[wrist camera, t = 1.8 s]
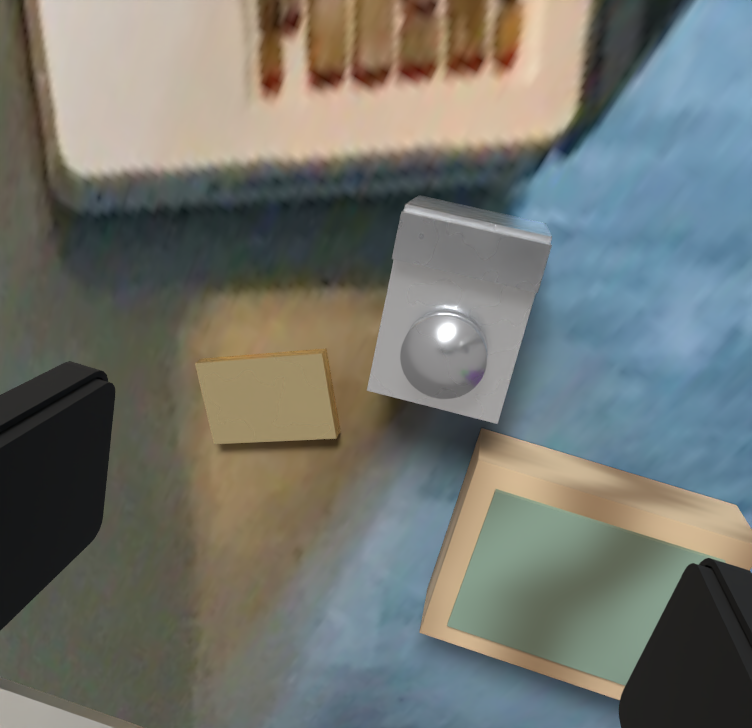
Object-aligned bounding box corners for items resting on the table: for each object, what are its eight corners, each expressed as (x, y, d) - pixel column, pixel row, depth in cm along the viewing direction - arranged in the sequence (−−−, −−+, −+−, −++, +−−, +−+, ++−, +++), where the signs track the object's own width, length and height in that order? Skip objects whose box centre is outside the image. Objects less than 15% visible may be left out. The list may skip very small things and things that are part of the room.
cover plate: (329, 345, 29) (321, 353, 28) (342, 427, 30) (336, 438, 29) (206, 355, 30) (194, 363, 29) (224, 433, 31) (213, 444, 30)
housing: (419, 194, 25) (400, 206, 21) (545, 222, 25) (554, 241, 20) (385, 357, 28) (361, 400, 23) (498, 385, 27) (497, 435, 23)
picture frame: (736, 505, 27) (764, 550, 24) (652, 663, 30) (669, 720, 27) (481, 428, 28) (478, 462, 25) (427, 588, 31) (418, 635, 28)
